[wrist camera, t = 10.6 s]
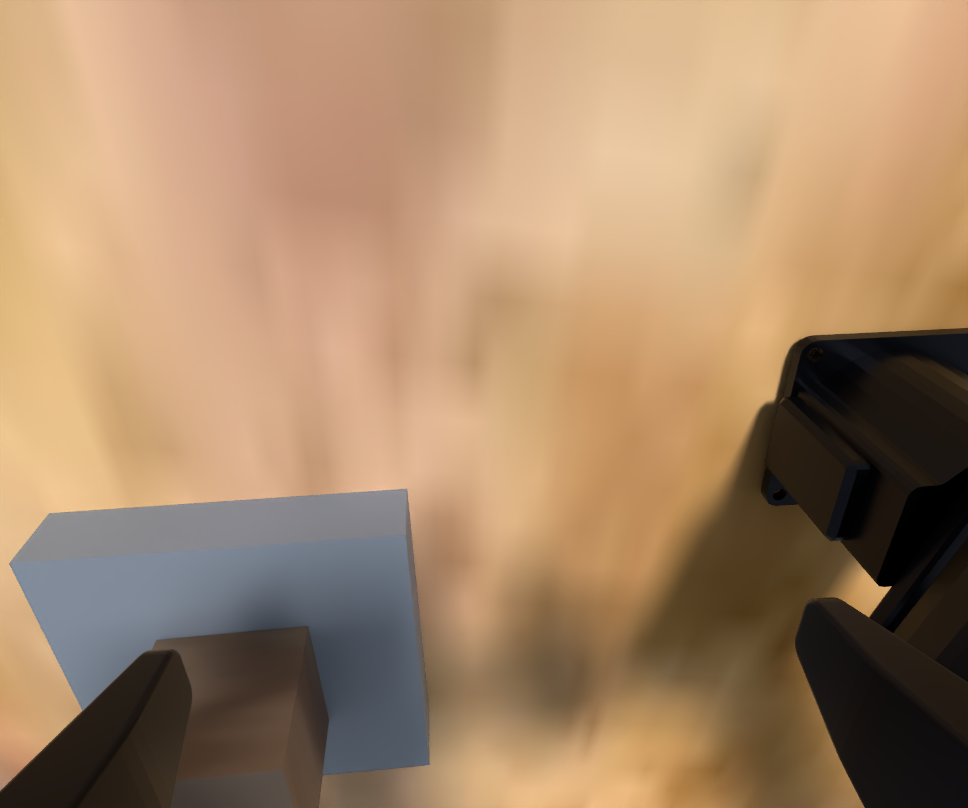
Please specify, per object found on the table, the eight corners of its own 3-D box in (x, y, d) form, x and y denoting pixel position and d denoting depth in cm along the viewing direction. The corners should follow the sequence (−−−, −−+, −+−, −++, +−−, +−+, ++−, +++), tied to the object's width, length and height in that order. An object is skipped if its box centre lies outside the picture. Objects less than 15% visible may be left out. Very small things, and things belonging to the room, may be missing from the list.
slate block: (407, 479, 23) (405, 534, 20) (428, 699, 29) (429, 765, 26) (57, 502, 22) (9, 563, 20) (151, 724, 28) (124, 794, 25)
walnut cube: (308, 625, 22) (282, 769, 18) (329, 719, 24) (311, 866, 20) (156, 640, 22) (91, 790, 17) (192, 734, 24) (144, 886, 20)
